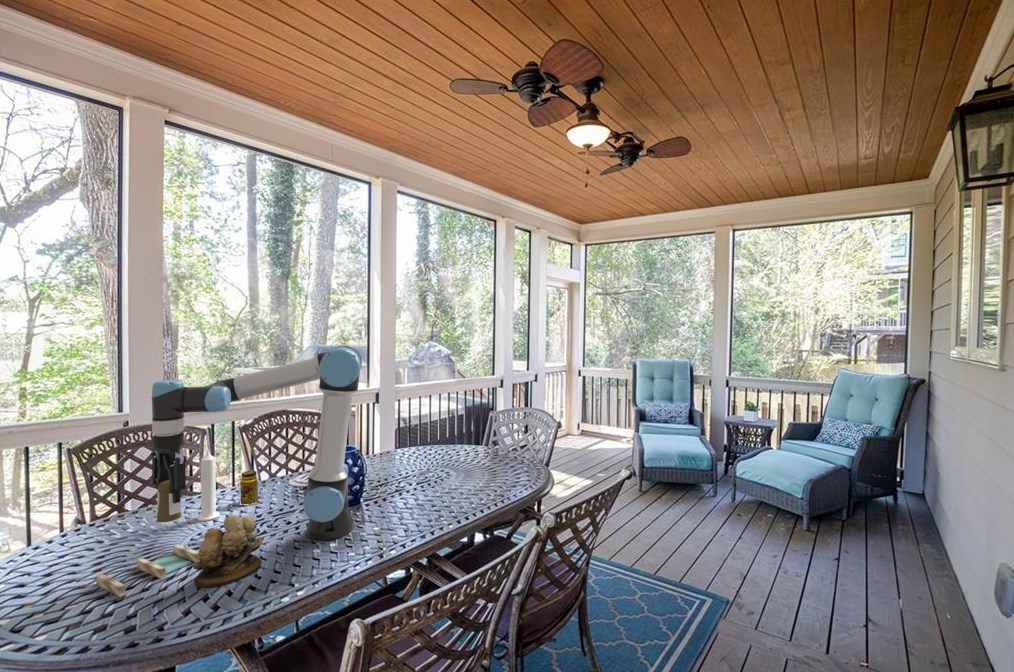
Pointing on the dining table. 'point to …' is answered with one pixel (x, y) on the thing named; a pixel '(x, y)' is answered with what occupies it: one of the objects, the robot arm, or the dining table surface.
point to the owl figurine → (228, 553)
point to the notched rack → (153, 568)
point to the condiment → (249, 487)
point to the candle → (208, 488)
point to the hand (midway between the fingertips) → (169, 511)
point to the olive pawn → (165, 504)
